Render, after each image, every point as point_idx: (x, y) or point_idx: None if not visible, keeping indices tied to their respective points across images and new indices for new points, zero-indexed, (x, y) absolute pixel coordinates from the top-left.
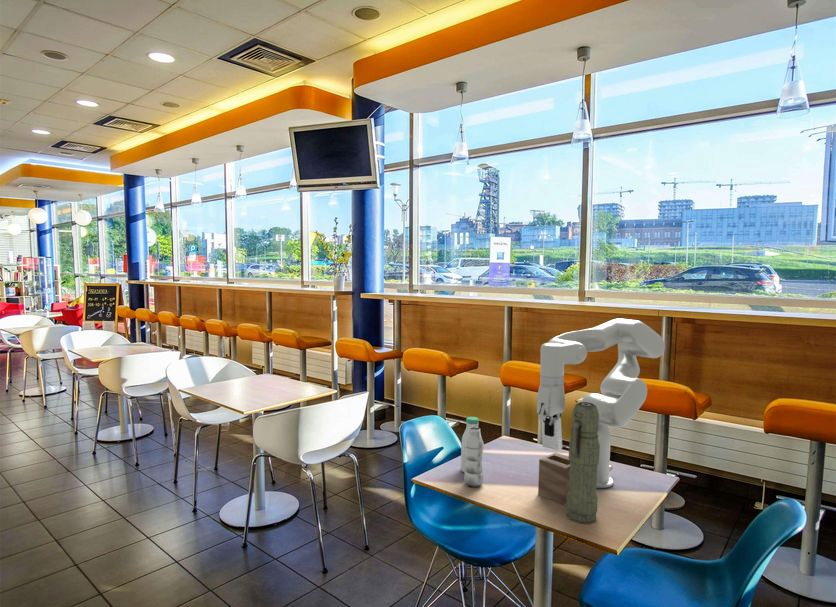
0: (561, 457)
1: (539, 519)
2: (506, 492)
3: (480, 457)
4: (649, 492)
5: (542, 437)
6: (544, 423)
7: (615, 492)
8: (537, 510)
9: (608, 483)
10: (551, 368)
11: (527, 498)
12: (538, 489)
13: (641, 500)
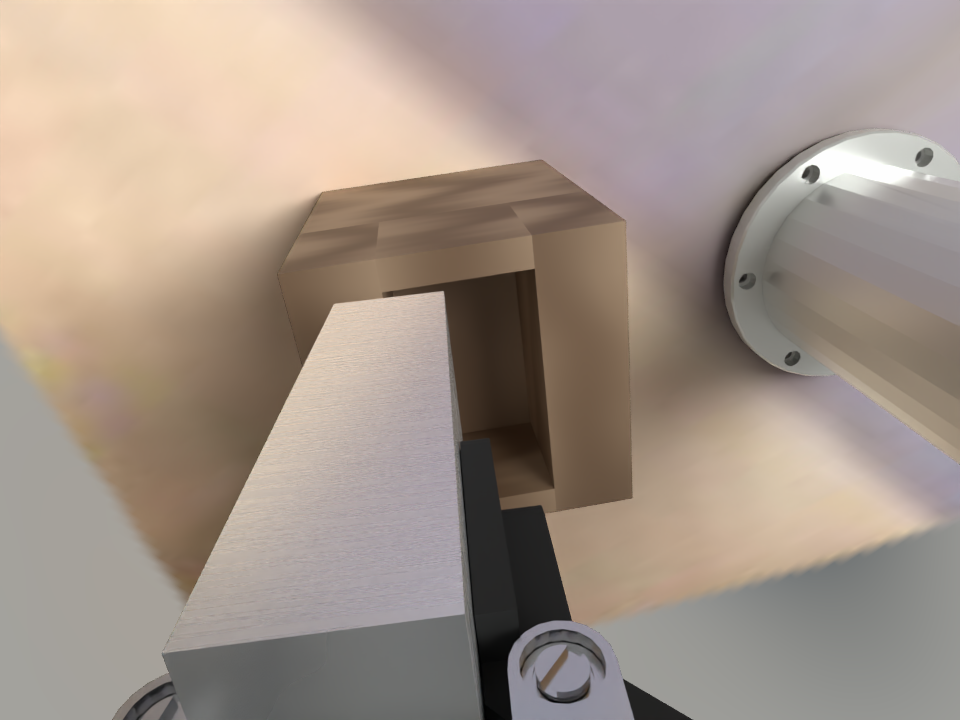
0: (543, 358)
1: (81, 438)
2: (97, 15)
3: None
4: (893, 501)
5: (311, 359)
6: (148, 707)
7: (764, 422)
8: (145, 358)
9: (825, 367)
10: None
11: (198, 198)
12: (318, 201)
13: (765, 535)
